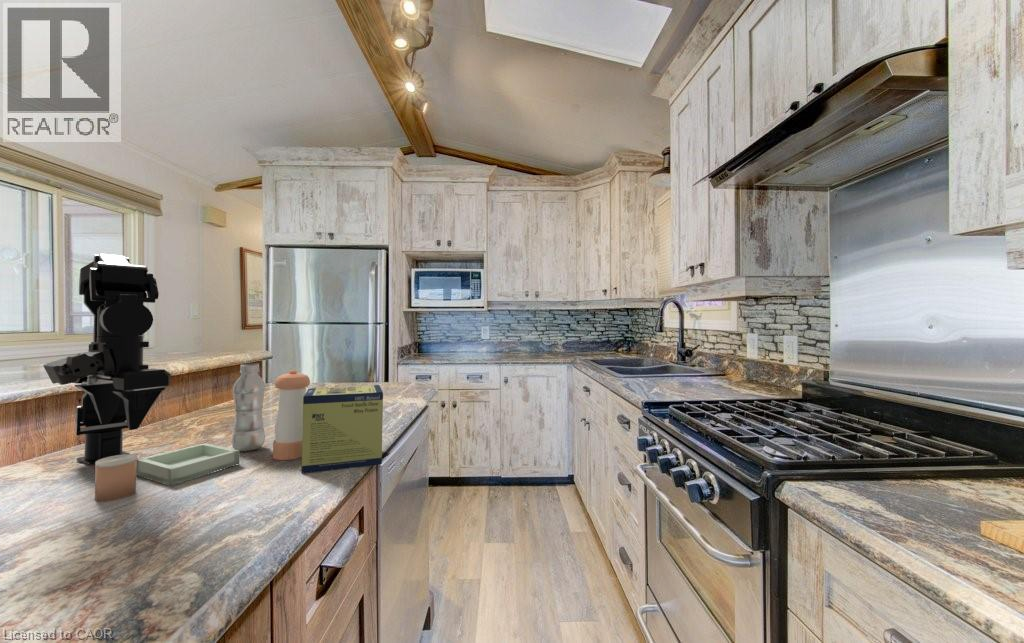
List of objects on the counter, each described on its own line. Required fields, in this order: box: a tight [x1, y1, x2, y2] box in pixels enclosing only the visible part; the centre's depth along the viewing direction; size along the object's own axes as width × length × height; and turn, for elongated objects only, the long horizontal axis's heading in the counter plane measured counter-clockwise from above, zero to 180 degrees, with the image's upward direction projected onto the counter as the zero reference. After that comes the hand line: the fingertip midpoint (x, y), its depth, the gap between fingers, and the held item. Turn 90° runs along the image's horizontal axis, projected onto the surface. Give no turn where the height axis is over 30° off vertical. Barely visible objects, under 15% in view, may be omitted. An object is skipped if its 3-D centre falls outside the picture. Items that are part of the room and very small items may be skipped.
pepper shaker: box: [272, 369, 311, 461], centre depth 89 cm, size 7×7×19 cm
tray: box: [136, 442, 240, 487], centre depth 80 cm, size 12×12×3 cm
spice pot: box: [94, 453, 138, 502], centre depth 68 cm, size 5×5×6 cm
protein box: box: [300, 384, 384, 474], centre depth 86 cm, size 10×16×16 cm
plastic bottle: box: [231, 363, 266, 452], centre depth 92 cm, size 6×7×20 cm
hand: (119, 426), depth 68 cm, fingers open, 9 cm apart
